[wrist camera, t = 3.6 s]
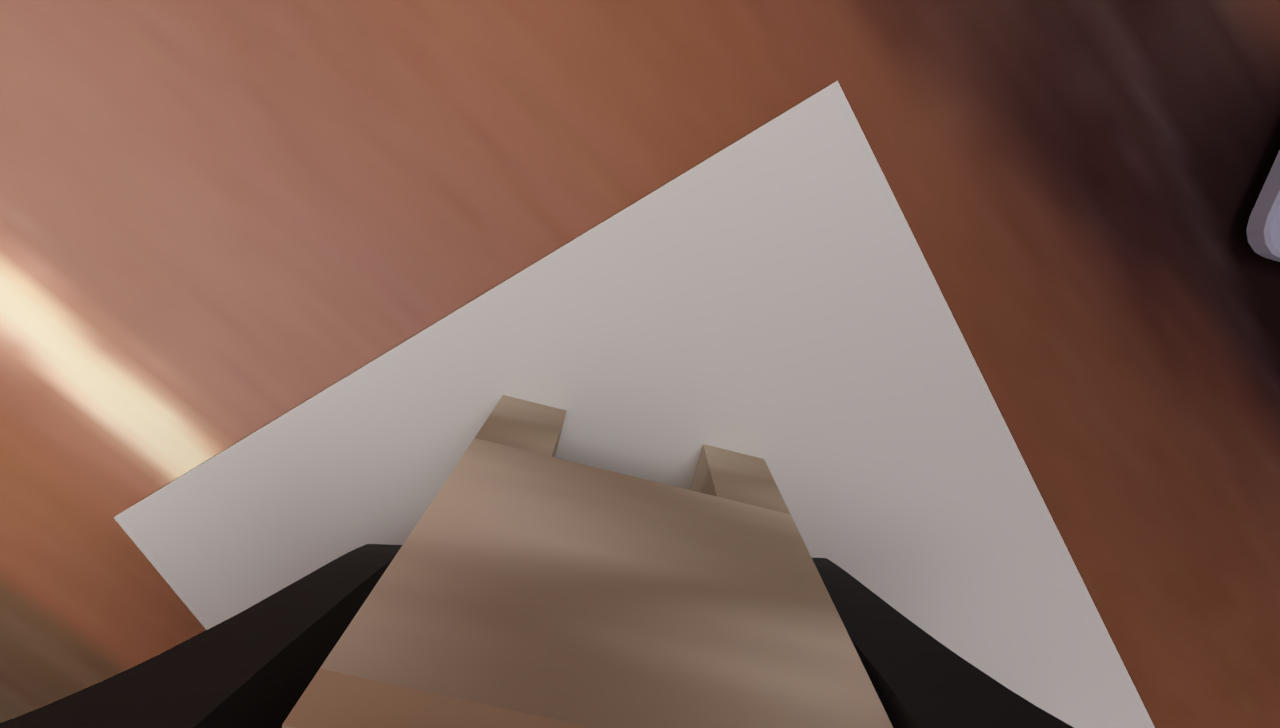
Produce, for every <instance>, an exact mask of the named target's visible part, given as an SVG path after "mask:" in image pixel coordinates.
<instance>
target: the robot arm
mask: <svg viewBox="0 0 1280 728" xmlns="http://www.w3.org/2000/svg"><path fill="white" fill-rule="evenodd" d="M1246 232H1247V238H1248V243H1249V245H1250V246H1251V247H1252V249H1253V250H1254V252H1255V253H1257V254H1259V255H1261V256H1263V257H1264V258H1267V259H1271V260H1274V261H1278V262H1280V150H1279V152H1278V154H1277V157H1276V159H1275V161H1274V163H1273V166H1272V168H1271V170H1270V172H1269V174H1268V177H1267V179H1266V181H1265V183H1264V186H1263V188H1262V190H1261V192H1260V195H1259V197H1258V199H1257V201H1256V203H1255V206H1254V208H1253V210H1252V212H1251V215H1250V217H1249V221H1248V225H1247V229H1246ZM401 547H402V545H388V544H366V545H363V546H361V547H359V548H356V549H354V550H352V551H350V552H348V553H346V554H344V555H342V556H341V557H339V558H337V559H335V560H333V561H331V562H330V563H328V564H326V565H324V566H322V567H321V568H319V569H317V570H315V571H313V572H312V573H310V574H308V575H306V576H305V577H303V578H301V579H299V580H298V581H296V582H294V583H292V584H291V585H289V586H287V587H285V588H283V589H282V590H280V591H278V592H276V593H275V594H273V595H271V596H269V597H267V598H266V599H264V600H262V601H260V602H259V603H257V604H255V605H253V606H251V607H250V608H248V609H246V610H244V611H242V612H241V613H239V614H237V615H235V616H233V617H231V618H229V619H227V620H225V621H223V622H221V623H220V624H218V625H216V626H214V627H212V628H210V629H208V630H206V631H204V632H202V633H200V634H198V635H196V636H194V637H192V638H190V639H189V640H187V641H185V642H183V643H181V644H179V645H177V646H175V647H173V648H171V649H169V650H167V651H165V652H163V653H161V654H160V655H158V656H156V657H154V658H151V659H149V660H147V661H145V662H143V663H141V664H139V665H137V666H135V667H133V668H130V669H128V670H126V671H124V672H122V673H120V674H117V675H115V676H113V677H111V678H109V679H106V680H104V681H102V682H100V683H97V684H95V685H93V686H90V687H88V688H86V689H83V690H81V691H79V692H76V693H74V694H72V695H69V696H67V697H65V698H62V699H60V700H58V701H55V702H53V703H51V704H48V705H46V706H44V707H41V708H39V709H36V710H34V711H31V712H29V713H26V714H24V715H22V716H19V717H16V718H14V719H11V720H8V721H6V722H3V723H0V728H282V724H283V723H284V721H285V720H286V718H287V717H288V715H289V714H290V712H291V711H292V709H293V708H294V706H295V705H296V703H297V702H298V700H299V699H300V697H301V696H302V694H303V693H304V691H305V690H306V688H307V687H308V685H309V684H310V682H311V681H312V679H313V678H314V676H315V675H316V673H317V672H318V670H319V669H320V667H321V666H322V664H323V663H324V661H325V660H326V658H327V657H328V656H329V654H330V653H331V651H332V650H333V648H334V647H335V645H336V644H337V642H338V641H339V639H340V638H341V636H342V635H343V633H344V632H345V630H346V629H347V627H348V626H349V624H350V623H351V621H352V620H353V618H354V617H355V615H356V614H357V612H358V611H359V609H360V608H361V606H362V605H363V603H364V602H365V600H366V599H367V597H368V596H369V594H370V593H371V591H372V590H373V588H374V587H375V585H376V584H377V582H378V581H379V579H380V578H381V576H382V575H383V574H384V572H385V571H386V569H387V568H388V566H389V565H390V563H391V562H392V560H393V559H394V557H395V556H396V554H397V553H398V551H399V550H400V548H401ZM812 560H813V562H814V564H815V566H816V568H817V570H818V572H819V574H820V576H821V578H822V581H823V583H824V585H825V587H826V589H827V591H828V593H829V595H830V597H831V599H832V601H833V603H834V605H835V608H836V610H837V612H838V614H839V616H840V618H841V620H842V622H843V624H844V626H845V628H846V630H847V633H848V635H849V637H850V639H851V641H852V643H853V645H854V647H855V649H856V651H857V653H858V655H859V657H860V660H861V662H862V664H863V666H864V668H865V670H866V672H867V674H868V676H869V678H870V680H871V682H872V684H873V687H874V689H875V691H876V693H877V695H878V697H879V699H880V701H881V703H882V705H883V707H884V709H885V712H886V714H887V716H888V718H889V720H890V722H891V724H892V726H893V728H1074V727H1072V726H1070V725H1069V724H1067V723H1065V722H1063V721H1062V720H1060V719H1058V718H1056V717H1054V716H1053V715H1051V714H1049V713H1047V712H1046V711H1044V710H1042V709H1040V708H1039V707H1037V706H1035V705H1034V704H1032V703H1031V702H1029V701H1027V700H1026V699H1024V698H1022V697H1021V696H1019V695H1018V694H1016V693H1014V692H1013V691H1011V690H1010V689H1008V688H1006V687H1005V686H1003V685H1002V684H1000V683H999V682H997V681H996V680H994V679H993V678H991V677H990V676H988V675H987V674H985V673H984V672H982V671H981V670H979V669H978V668H976V667H975V666H973V665H972V664H970V663H969V662H967V661H966V660H964V659H963V658H961V657H960V656H958V655H957V654H956V653H954V652H953V651H951V650H950V649H948V648H947V647H946V646H944V645H943V644H941V643H940V642H939V641H937V640H936V639H934V638H933V637H932V636H930V635H929V634H928V633H926V632H925V631H923V630H922V629H921V628H919V627H918V626H917V625H915V624H914V623H913V622H911V621H910V620H909V619H907V618H906V617H905V616H903V615H902V614H901V613H899V612H898V611H897V610H895V609H894V608H893V607H892V606H890V605H889V604H888V603H886V602H885V601H884V600H882V599H881V598H880V597H879V596H877V595H876V594H875V593H873V592H872V591H871V590H869V589H868V588H867V587H866V586H864V585H863V584H862V583H860V582H859V581H858V580H856V579H855V578H854V577H853V576H851V575H850V574H849V573H847V572H846V571H845V570H843V569H842V568H840V567H839V566H838V565H836V564H835V563H833V562H832V561H830V560H828V559H827V558H812Z"/></svg>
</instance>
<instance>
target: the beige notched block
mask: <svg viewBox="0 0 1280 728" xmlns="http://www.w3.org/2000/svg"><path fill="white" fill-rule="evenodd" d="M566 411H567V410H563V409H559V408H555V407H550V406H546V405H542V404H538V403H534V402H530V401H526V400H522V399H518V398H514V397H510V396H506V395H503V396H502V398H501V399H500V401H499V402H498V404H497V405H496V407H495V408H494V410H493V411H492V413H491V414H490V416H489V417H488V418H487V420H486V421H485V423H484V424H483V426H482V427H481V429H480V430H479V432H478V433H477V435H476V436H475V438H474V439H473V441H472V442H471V444H470V445H469V447H468V448H467V450H466V451H465V453H464V454H463V456H462V457H461V459H460V460H459V462H458V463H457V465H456V466H455V468H454V469H453V471H452V472H451V474H450V475H449V477H448V478H447V480H446V481H445V483H444V484H443V486H442V487H441V489H440V490H439V492H438V493H437V495H436V496H435V497H434V499H433V500H432V502H431V503H430V505H429V506H428V508H427V509H426V511H425V512H424V514H423V515H422V517H421V518H420V520H419V521H418V523H417V524H416V526H415V527H414V529H413V530H412V532H411V533H410V535H409V536H408V538H407V539H406V541H405V542H404V544H403V545H402V547H401V548H400V550H399V551H398V553H397V554H396V556H395V557H394V559H393V560H392V562H391V563H390V565H389V566H388V568H387V569H386V571H385V572H384V574H383V575H382V576H381V578H380V579H379V581H378V582H377V584H376V585H375V587H374V588H373V590H372V591H371V593H370V594H369V596H368V597H367V599H366V600H365V602H364V603H363V605H362V606H361V608H360V609H359V611H358V612H357V614H356V615H355V617H354V618H353V620H352V621H351V623H350V624H349V626H348V627H347V629H346V630H345V632H344V633H343V635H342V636H341V638H340V639H339V641H338V642H337V644H336V645H335V647H334V648H333V650H332V651H331V653H330V654H329V656H328V657H327V658H326V660H325V661H324V663H323V664H322V666H321V667H320V669H319V670H318V672H317V673H316V675H315V676H314V678H313V679H312V681H311V682H310V684H309V685H308V687H307V688H306V690H305V691H304V693H303V694H302V696H301V697H300V699H299V700H298V702H297V703H296V705H295V706H294V708H293V709H292V711H291V712H290V714H289V715H288V717H287V718H286V720H285V721H284V723H283V724H282V728H893V726H892V724H891V722H890V720H889V718H888V716H887V714H886V712H885V709H884V707H883V705H882V703H881V701H880V699H879V697H878V695H877V693H876V691H875V689H874V687H873V684H872V682H871V680H870V678H869V676H868V674H867V672H866V670H865V668H864V666H863V664H862V662H861V660H860V657H859V655H858V653H857V651H856V649H855V647H854V645H853V643H852V641H851V639H850V637H849V635H848V633H847V630H846V628H845V626H844V624H843V622H842V620H841V618H840V616H839V614H838V612H837V610H836V608H835V605H834V603H833V601H832V599H831V597H830V595H829V593H828V591H827V589H826V587H825V585H824V583H823V581H822V578H821V576H820V574H819V572H818V570H817V568H816V566H815V564H814V562H813V560H812V558H811V556H810V553H809V551H808V549H807V547H806V545H805V543H804V541H803V539H802V537H801V535H800V533H799V531H798V529H797V526H796V524H795V522H794V520H793V518H792V516H791V514H790V512H789V510H788V508H787V506H786V504H785V502H784V499H783V497H782V495H781V493H780V491H779V489H778V487H777V485H776V483H775V481H774V479H773V477H772V474H771V472H770V470H769V468H768V466H767V464H766V462H765V460H764V459H762V458H758V457H754V456H750V455H746V454H742V453H738V452H733V451H729V450H725V449H721V448H717V447H713V446H709V445H705V444H703V446H702V449H701V453H700V456H699V460H698V463H697V466H696V470H695V473H694V476H693V480H692V483H691V487H690V490H687V489H683V488H679V487H675V486H671V485H667V484H662V483H658V482H654V481H650V480H646V479H642V478H638V477H633V476H629V475H625V474H621V473H617V472H613V471H609V470H604V469H600V468H596V467H592V466H588V465H584V464H580V463H575V462H571V461H567V460H563V459H559V458H555V455H556V451H557V447H558V443H559V439H560V435H561V431H562V427H563V423H564V419H565V415H566Z"/></svg>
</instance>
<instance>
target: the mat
mask: <svg viewBox="0 0 1280 728" xmlns="http://www.w3.org/2000/svg"><path fill="white" fill-rule="evenodd" d="M503 395H506V396H510V397H514V398H518V399H522V400H526V401H530V402H534V403H538V404H542V405H546V406H550V407H555V408H559V409H563V410H567V411H566V415H565V419H564V423H563V427H562V431H561V435H560V439H559V443H558V447H557V451H556V455H555V458H559V459H563V460H567V461H571V462H575V463H580V464H584V465H588V466H592V467H596V468H600V469H604V470H609V471H613V472H617V473H621V474H625V475H629V476H633V477H638V478H642V479H646V480H650V481H654V482H658V483H662V484H667V485H671V486H675V487H679V488H683V489H687V490H690V487H691V483H692V480H693V476H694V473H695V470H696V466H697V463H698V460H699V456H700V453H701V449H702V446H703V444H705V445H709V446H713V447H717V448H721V449H725V450H729V451H733V452H738V453H742V454H746V455H750V456H754V457H758V458H762V459H764V460H765V462H766V464H767V466H768V468H769V470H770V472H771V474H772V477H773V479H774V481H775V483H776V485H777V487H778V489H779V491H780V493H781V495H782V497H783V499H784V502H785V504H786V506H787V508H788V510H789V512H790V514H791V516H792V518H793V520H794V522H795V524H796V526H797V529H798V531H799V533H800V535H801V537H802V539H803V541H804V543H805V545H806V547H807V549H808V551H809V553H810V556H811V558H827V559H828V560H830V561H832V562H833V563H835V564H836V565H838V566H839V567H840V568H842V569H843V570H845V571H846V572H847V573H849V574H850V575H851V576H853V577H854V578H855V579H856V580H858V581H859V582H860V583H862V584H863V585H864V586H866V587H867V588H868V589H869V590H871V591H872V592H873V593H875V594H876V595H877V596H879V597H880V598H881V599H882V600H884V601H885V602H886V603H888V604H889V605H890V606H892V607H893V608H894V609H895V610H897V611H898V612H899V613H901V614H902V615H903V616H905V617H906V618H907V619H909V620H910V621H911V622H913V623H914V624H915V625H917V626H918V627H919V628H921V629H922V630H923V631H925V632H926V633H928V634H929V635H930V636H932V637H933V638H934V639H936V640H937V641H939V642H940V643H941V644H943V645H944V646H946V647H947V648H948V649H950V650H951V651H953V652H954V653H956V654H957V655H958V656H960V657H961V658H963V659H964V660H966V661H967V662H969V663H970V664H972V665H973V666H975V667H976V668H978V669H979V670H981V671H982V672H984V673H985V674H987V675H988V676H990V677H991V678H993V679H994V680H996V681H997V682H999V683H1000V684H1002V685H1003V686H1005V687H1006V688H1008V689H1010V690H1011V691H1013V692H1014V693H1016V694H1018V695H1019V696H1021V697H1022V698H1024V699H1026V700H1027V701H1029V702H1031V703H1032V704H1034V705H1035V706H1037V707H1039V708H1040V709H1042V710H1044V711H1046V712H1047V713H1049V714H1051V715H1053V716H1054V717H1056V718H1058V719H1060V720H1062V721H1063V722H1065V723H1067V724H1069V725H1070V726H1072V727H1074V728H1155V727H1154V725H1153V723H1152V721H1151V719H1150V717H1149V715H1148V713H1147V710H1146V708H1145V706H1144V704H1143V702H1142V700H1141V698H1140V696H1139V694H1138V692H1137V690H1136V688H1135V686H1134V684H1133V682H1132V680H1131V678H1130V676H1129V674H1128V672H1127V670H1126V668H1125V666H1124V664H1123V662H1122V660H1121V657H1120V655H1119V653H1118V651H1117V649H1116V647H1115V645H1114V643H1113V641H1112V639H1111V637H1110V635H1109V633H1108V631H1107V629H1106V627H1105V625H1104V623H1103V621H1102V619H1101V617H1100V615H1099V613H1098V611H1097V609H1096V607H1095V604H1094V602H1093V600H1092V598H1091V596H1090V594H1089V592H1088V590H1087V588H1086V586H1085V584H1084V582H1083V580H1082V578H1081V576H1080V574H1079V572H1078V570H1077V568H1076V566H1075V564H1074V562H1073V560H1072V558H1071V556H1070V554H1069V551H1068V549H1067V547H1066V545H1065V543H1064V541H1063V539H1062V537H1061V535H1060V533H1059V531H1058V529H1057V527H1056V525H1055V523H1054V521H1053V519H1052V517H1051V515H1050V513H1049V511H1048V509H1047V507H1046V505H1045V503H1044V500H1043V498H1042V496H1041V494H1040V492H1039V490H1038V488H1037V486H1036V484H1035V482H1034V480H1033V478H1032V476H1031V474H1030V472H1029V470H1028V468H1027V466H1026V464H1025V462H1024V460H1023V458H1022V456H1021V454H1020V452H1019V450H1018V447H1017V445H1016V443H1015V441H1014V439H1013V437H1012V435H1011V433H1010V431H1009V429H1008V427H1007V425H1006V423H1005V421H1004V419H1003V417H1002V415H1001V413H1000V411H999V409H998V407H997V405H996V403H995V401H994V399H993V397H992V394H991V392H990V390H989V388H988V386H987V384H986V382H985V380H984V378H983V376H982V374H981V372H980V370H979V368H978V366H977V364H976V362H975V360H974V358H973V356H972V354H971V352H970V350H969V348H968V346H967V343H966V341H965V339H964V337H963V335H962V333H961V331H960V329H959V327H958V325H957V323H956V321H955V319H954V317H953V315H952V313H951V311H950V309H949V307H948V305H947V303H946V301H945V299H944V297H943V295H942V293H941V290H940V288H939V286H938V284H937V282H936V280H935V278H934V276H933V274H932V272H931V270H930V268H929V266H928V264H927V262H926V260H925V258H924V256H923V254H922V252H921V250H920V248H919V246H918V244H917V242H916V240H915V237H914V235H913V233H912V231H911V229H910V227H909V225H908V223H907V221H906V219H905V217H904V215H903V213H902V211H901V209H900V207H899V205H898V203H897V201H896V199H895V197H894V195H893V193H892V191H891V189H890V186H889V184H888V182H887V180H886V178H885V176H884V174H883V172H882V170H881V168H880V166H879V164H878V162H877V160H876V158H875V156H874V154H873V152H872V150H871V148H870V146H869V144H868V142H867V140H866V138H865V136H864V133H863V131H862V129H861V127H860V125H859V123H858V121H857V119H856V117H855V115H854V113H853V111H852V109H851V107H850V105H849V103H848V101H847V99H846V97H845V95H844V93H843V91H842V89H841V87H840V85H839V83H838V81H836V82H834V83H833V84H831V85H829V86H827V87H826V88H824V89H822V90H821V91H819V92H818V93H816V94H814V95H813V96H811V97H809V98H808V99H806V100H804V101H803V102H801V103H799V104H798V105H796V106H794V107H793V108H791V109H789V110H788V111H786V112H784V113H783V114H781V115H779V116H778V117H776V118H774V119H773V120H771V121H769V122H768V123H766V124H764V125H763V126H761V127H759V128H758V129H756V130H755V131H753V132H751V133H750V134H748V135H746V136H745V137H743V138H741V139H740V140H738V141H736V142H735V143H733V144H731V145H730V146H728V147H726V148H725V149H723V150H721V151H720V152H718V153H716V154H715V155H713V156H711V157H710V158H708V159H706V160H705V161H703V162H701V163H700V164H698V165H696V166H695V167H693V168H692V169H690V170H688V171H687V172H685V173H683V174H682V175H680V176H678V177H677V178H675V179H673V180H672V181H670V182H668V183H667V184H665V185H663V186H662V187H660V188H658V189H657V190H655V191H653V192H652V193H650V194H648V195H647V196H645V197H643V198H642V199H640V200H638V201H637V202H635V203H634V204H632V205H630V206H629V207H627V208H625V209H624V210H622V211H620V212H619V213H617V214H615V215H614V216H612V217H610V218H609V219H607V220H605V221H604V222H602V223H600V224H599V225H597V226H595V227H594V228H592V229H590V230H589V231H587V232H585V233H584V234H582V235H580V236H579V237H577V238H575V239H574V240H572V241H571V242H569V243H567V244H566V245H564V246H562V247H561V248H559V249H557V250H556V251H554V252H552V253H551V254H549V255H547V256H546V257H544V258H542V259H541V260H539V261H537V262H536V263H534V264H532V265H531V266H529V267H527V268H526V269H524V270H522V271H521V272H519V273H517V274H516V275H514V276H512V277H511V278H509V279H508V280H506V281H504V282H503V283H501V284H499V285H498V286H496V287H494V288H493V289H491V290H489V291H488V292H486V293H484V294H483V295H481V296H479V297H478V298H476V299H474V300H473V301H471V302H469V303H468V304H466V305H464V306H463V307H461V308H459V309H458V310H456V311H454V312H453V313H451V314H449V315H448V316H446V317H445V318H443V319H441V320H440V321H438V322H436V323H435V324H433V325H431V326H430V327H428V328H426V329H425V330H423V331H421V332H420V333H418V334H416V335H415V336H413V337H411V338H410V339H408V340H406V341H405V342H403V343H401V344H400V345H398V346H396V347H395V348H393V349H391V350H390V351H388V352H386V353H385V354H383V355H382V356H380V357H378V358H377V359H375V360H373V361H372V362H370V363H368V364H367V365H365V366H363V367H362V368H360V369H358V370H357V371H355V372H353V373H352V374H350V375H348V376H347V377H345V378H343V379H342V380H340V381H338V382H337V383H335V384H333V385H332V386H330V387H328V388H327V389H325V390H323V391H322V392H320V393H319V394H317V395H315V396H314V397H312V398H310V399H309V400H307V401H305V402H304V403H302V404H300V405H299V406H297V407H295V408H294V409H292V410H290V411H289V412H287V413H285V414H284V415H282V416H280V417H279V418H277V419H275V420H274V421H272V422H270V423H269V424H267V425H265V426H264V427H262V428H261V429H259V430H257V431H256V432H254V433H252V434H251V435H249V436H247V437H246V438H244V439H242V440H241V441H239V442H237V443H236V444H234V445H232V446H231V447H229V448H227V449H226V450H224V451H222V452H221V453H219V454H217V455H216V456H214V457H212V458H211V459H209V460H207V461H206V462H204V463H202V464H201V465H199V466H198V467H196V468H194V469H193V470H191V471H189V472H188V473H186V474H184V475H183V476H181V477H179V478H178V479H176V480H174V481H173V482H171V483H169V484H168V485H166V486H164V487H163V488H161V489H159V490H158V491H156V492H154V493H153V494H151V495H149V496H148V497H146V498H144V499H143V500H141V501H139V502H138V503H136V504H135V505H133V506H131V507H130V508H128V509H126V510H125V511H123V512H121V513H120V514H118V515H117V516H115V517H113V518H114V519H115V520H116V521H117V522H118V524H119V525H120V526H121V527H122V529H123V530H124V531H125V532H126V533H127V535H128V536H129V537H130V538H131V539H132V541H133V542H134V543H135V544H136V545H137V547H138V548H139V549H140V550H141V552H142V553H143V554H144V555H145V556H146V558H147V559H148V560H149V561H150V562H151V564H152V565H153V566H154V567H155V568H156V570H157V571H158V572H159V573H160V575H161V576H162V577H163V578H164V579H165V581H166V582H167V583H168V584H169V585H170V587H171V588H172V589H173V590H174V592H175V593H176V594H177V595H178V596H179V598H180V599H181V600H182V601H183V602H184V604H185V605H186V606H187V607H188V608H189V610H190V611H191V612H192V613H193V615H194V616H195V617H196V618H197V619H198V621H199V622H200V623H201V624H202V625H203V627H204V628H205V629H206V630H208V629H210V628H212V627H214V626H216V625H218V624H220V623H221V622H223V621H225V620H227V619H229V618H231V617H233V616H235V615H237V614H239V613H241V612H242V611H244V610H246V609H248V608H250V607H251V606H253V605H255V604H257V603H259V602H260V601H262V600H264V599H266V598H267V597H269V596H271V595H273V594H275V593H276V592H278V591H280V590H282V589H283V588H285V587H287V586H289V585H291V584H292V583H294V582H296V581H298V580H299V579H301V578H303V577H305V576H306V575H308V574H310V573H312V572H313V571H315V570H317V569H319V568H321V567H322V566H324V565H326V564H328V563H330V562H331V561H333V560H335V559H337V558H339V557H341V556H342V555H344V554H346V553H348V552H350V551H352V550H354V549H356V548H359V547H361V546H363V545H366V544H388V545H403V544H404V542H405V541H406V539H407V538H408V536H409V535H410V533H411V532H412V530H413V529H414V527H415V526H416V524H417V523H418V521H419V520H420V518H421V517H422V515H423V514H424V512H425V511H426V509H427V508H428V506H429V505H430V503H431V502H432V500H433V499H434V497H435V496H436V495H437V493H438V492H439V490H440V489H441V487H442V486H443V484H444V483H445V481H446V480H447V478H448V477H449V475H450V474H451V472H452V471H453V469H454V468H455V466H456V465H457V463H458V462H459V460H460V459H461V457H462V456H463V454H464V453H465V451H466V450H467V448H468V447H469V445H470V444H471V442H472V441H473V439H474V438H475V436H476V435H477V433H478V432H479V430H480V429H481V427H482V426H483V424H484V423H485V421H486V420H487V418H488V417H489V416H490V414H491V413H492V411H493V410H494V408H495V407H496V405H497V404H498V402H499V401H500V399H501V398H502V396H503Z"/></svg>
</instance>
